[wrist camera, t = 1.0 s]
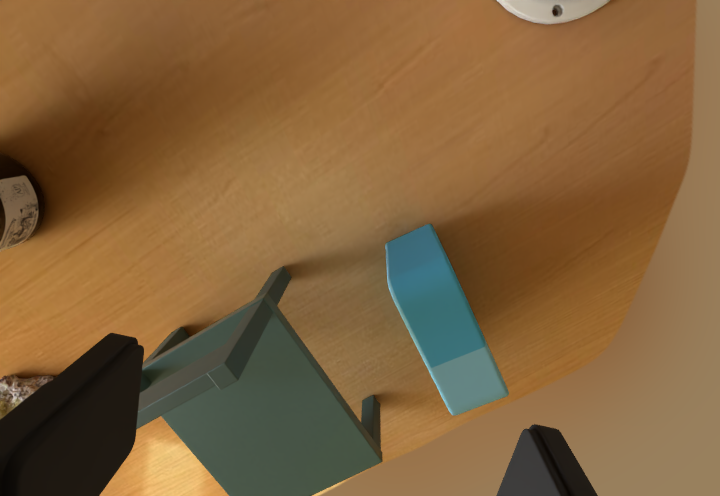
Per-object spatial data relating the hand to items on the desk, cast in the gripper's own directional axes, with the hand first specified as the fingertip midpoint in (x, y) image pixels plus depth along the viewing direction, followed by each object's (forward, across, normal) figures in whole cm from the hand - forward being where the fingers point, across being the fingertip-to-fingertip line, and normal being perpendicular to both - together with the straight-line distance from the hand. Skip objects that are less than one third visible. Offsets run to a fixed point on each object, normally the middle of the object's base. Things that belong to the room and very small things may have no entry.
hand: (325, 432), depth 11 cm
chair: (+31, +4, +19) cm, 37 cm away
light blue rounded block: (+31, -8, +6) cm, 33 cm away
